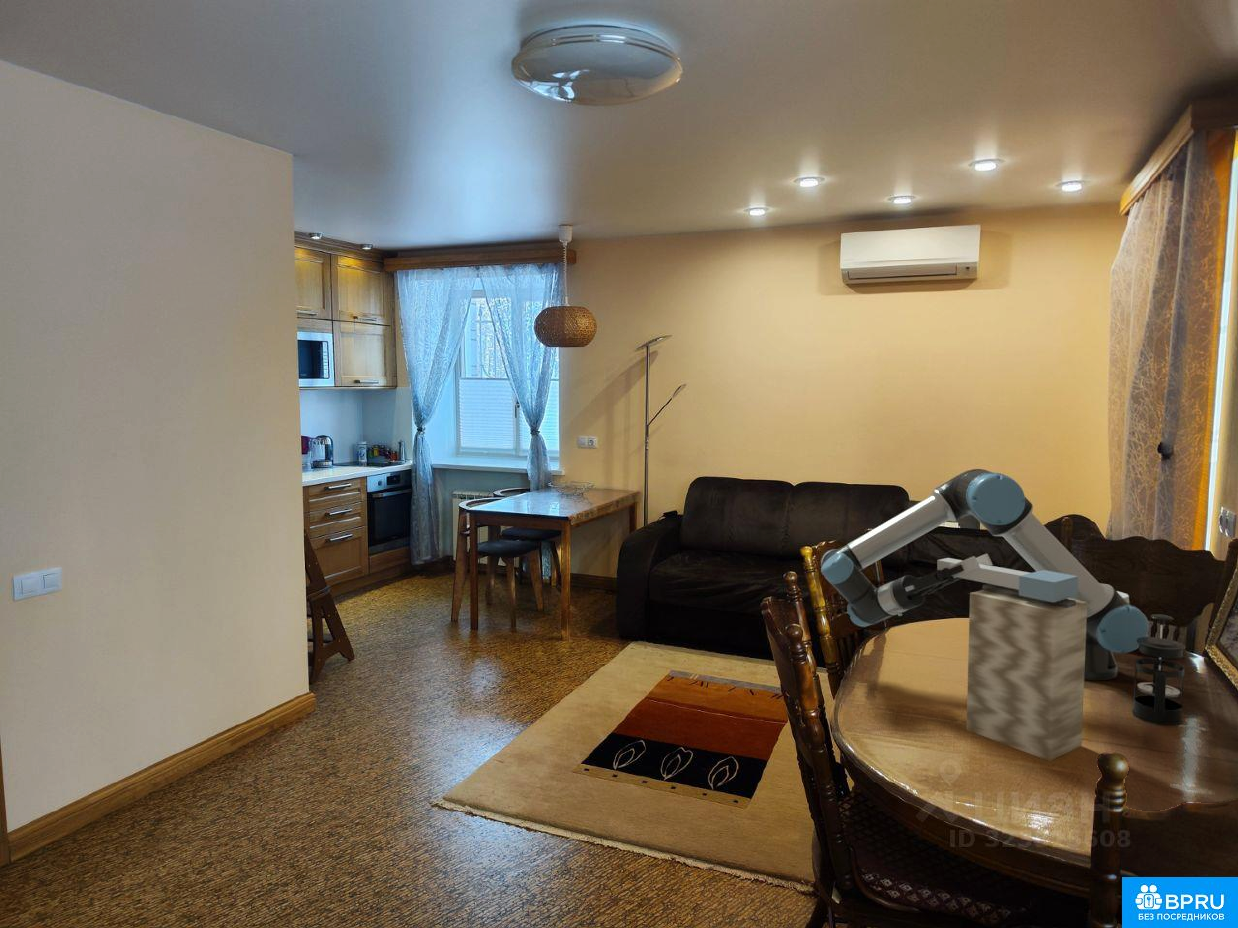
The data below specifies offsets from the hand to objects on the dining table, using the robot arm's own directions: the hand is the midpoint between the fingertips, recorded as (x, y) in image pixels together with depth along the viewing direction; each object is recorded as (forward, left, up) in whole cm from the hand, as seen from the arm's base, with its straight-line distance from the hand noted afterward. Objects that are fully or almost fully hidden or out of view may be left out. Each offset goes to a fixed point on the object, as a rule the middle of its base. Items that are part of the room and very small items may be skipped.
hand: (982, 560), depth 173 cm
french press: (-39, -9, -36) cm, 54 cm away
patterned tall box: (-7, +7, -36) cm, 37 cm away
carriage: (-3, +3, -5) cm, 6 cm away
